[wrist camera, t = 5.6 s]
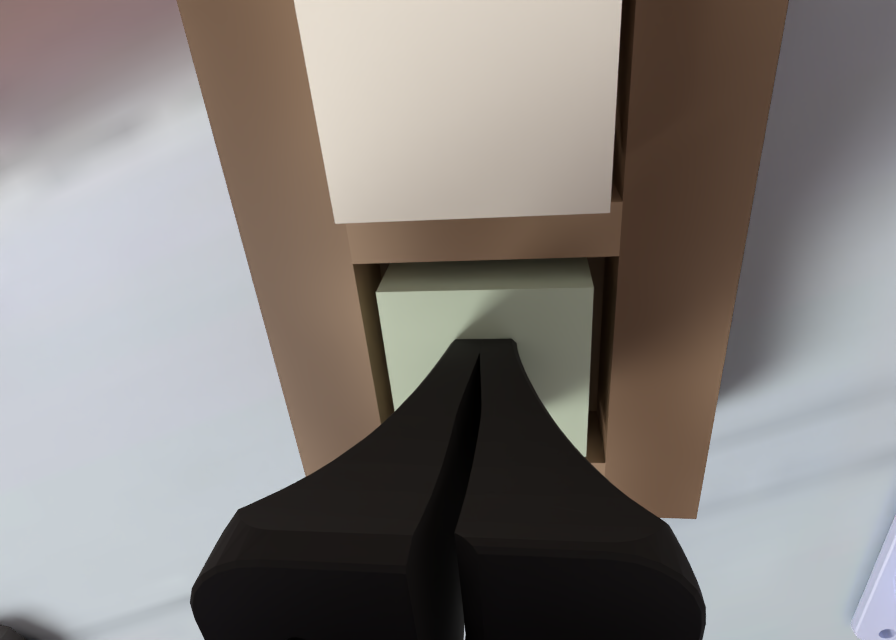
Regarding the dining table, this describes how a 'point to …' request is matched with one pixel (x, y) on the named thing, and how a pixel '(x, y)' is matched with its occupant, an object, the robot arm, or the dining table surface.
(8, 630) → the walkie-talkie
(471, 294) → the key sage
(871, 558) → the dining table surface
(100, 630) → the dining table surface
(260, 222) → the wooden tray
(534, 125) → the key cream
